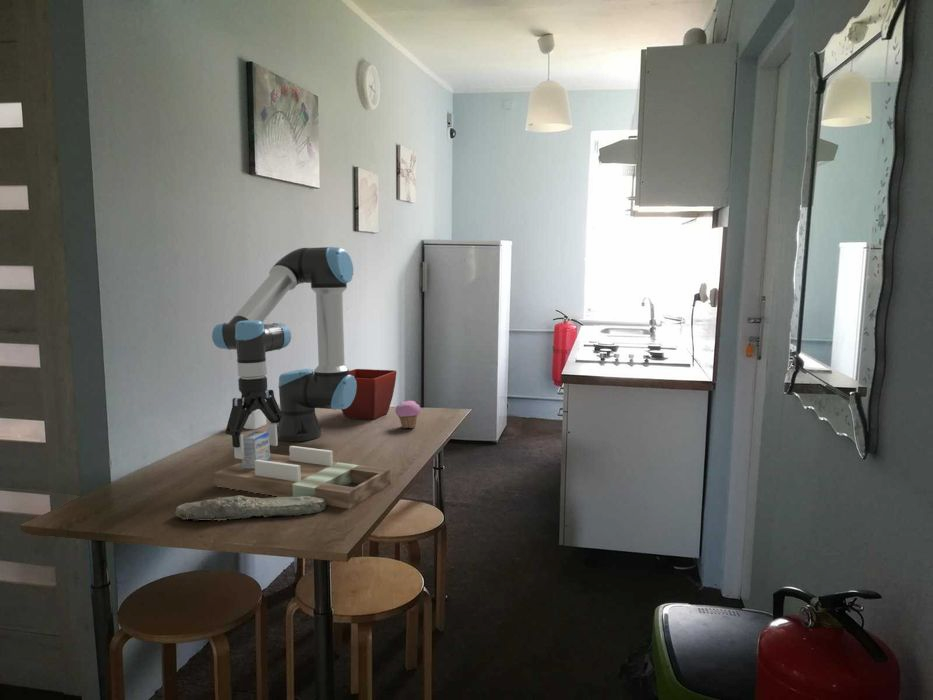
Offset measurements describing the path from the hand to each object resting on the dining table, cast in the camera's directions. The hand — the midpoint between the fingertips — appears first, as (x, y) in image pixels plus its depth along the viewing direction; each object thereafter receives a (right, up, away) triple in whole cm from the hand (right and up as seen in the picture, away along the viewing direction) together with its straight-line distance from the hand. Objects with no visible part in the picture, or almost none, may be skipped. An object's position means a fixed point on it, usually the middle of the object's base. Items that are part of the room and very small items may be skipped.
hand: (257, 451), depth 186 cm
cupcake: (+38, 0, +55) cm, 67 cm away
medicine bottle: (-20, 0, +60) cm, 63 cm away
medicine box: (0, -4, 0) cm, 4 cm away
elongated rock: (+7, -12, -25) cm, 28 cm away
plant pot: (+19, +2, +75) cm, 78 cm away
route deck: (+14, -8, -5) cm, 17 cm away
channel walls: (+12, -4, -5) cm, 14 cm away
